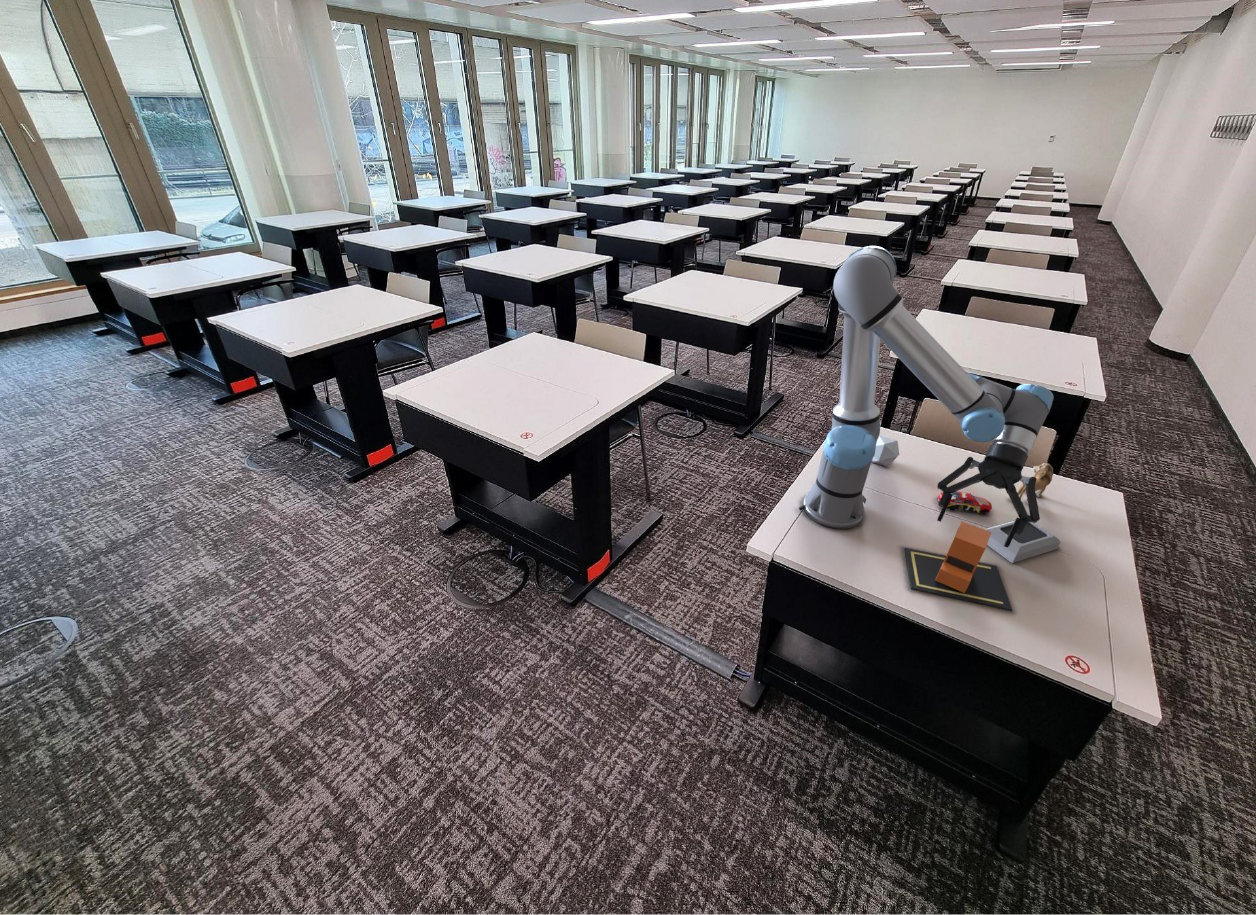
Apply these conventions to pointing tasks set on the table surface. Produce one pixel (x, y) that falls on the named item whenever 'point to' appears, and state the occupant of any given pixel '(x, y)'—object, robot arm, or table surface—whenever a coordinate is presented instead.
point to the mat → (980, 589)
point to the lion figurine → (1040, 479)
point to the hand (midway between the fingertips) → (971, 532)
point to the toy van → (963, 556)
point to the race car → (968, 503)
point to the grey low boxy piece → (1022, 541)
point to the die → (885, 451)
